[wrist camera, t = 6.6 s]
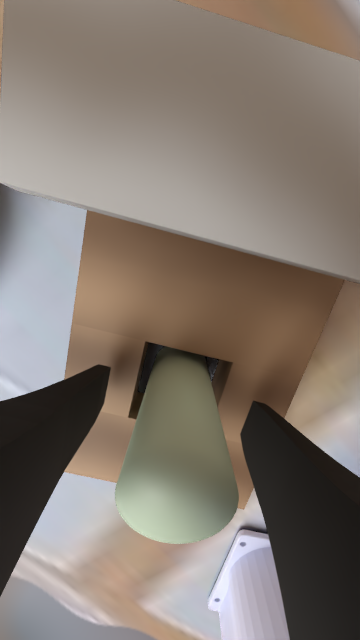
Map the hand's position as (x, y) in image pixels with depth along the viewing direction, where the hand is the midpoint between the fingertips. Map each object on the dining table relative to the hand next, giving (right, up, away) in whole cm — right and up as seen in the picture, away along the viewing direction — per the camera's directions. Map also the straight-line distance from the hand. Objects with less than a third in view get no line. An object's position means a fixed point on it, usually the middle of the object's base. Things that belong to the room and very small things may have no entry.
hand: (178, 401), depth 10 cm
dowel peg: (0, +1, +3) cm, 3 cm away
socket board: (+1, +3, +3) cm, 4 cm away
